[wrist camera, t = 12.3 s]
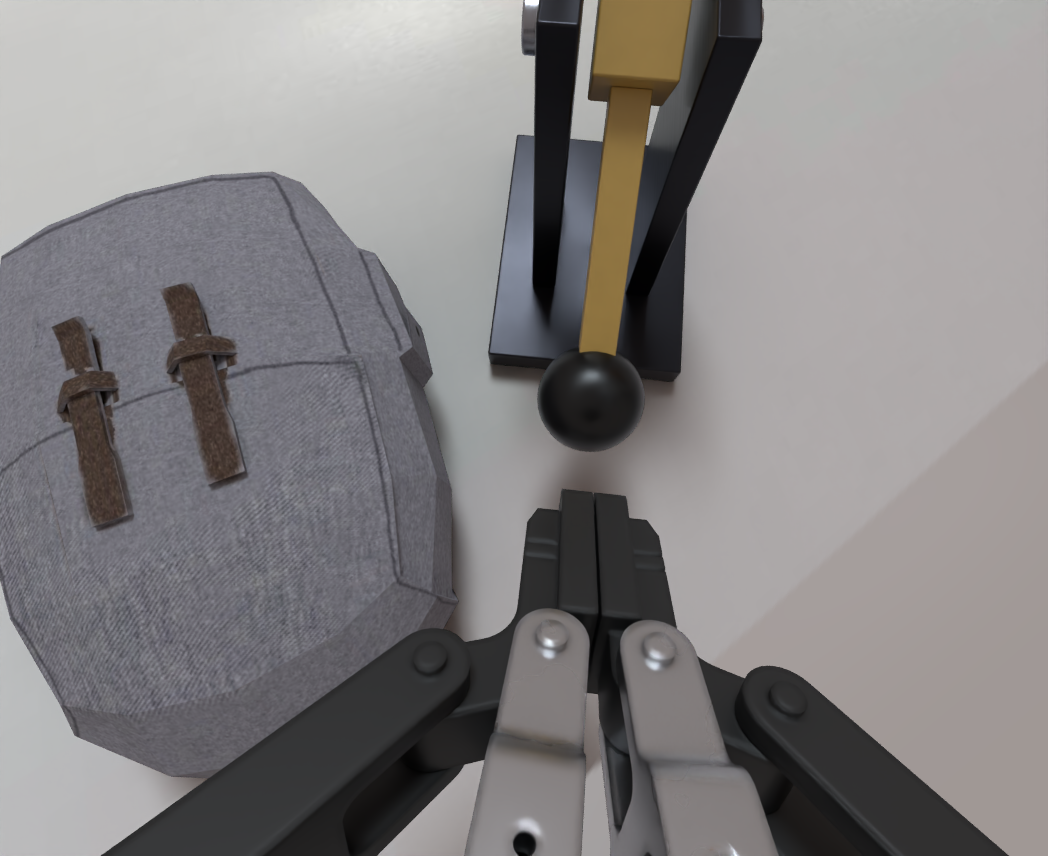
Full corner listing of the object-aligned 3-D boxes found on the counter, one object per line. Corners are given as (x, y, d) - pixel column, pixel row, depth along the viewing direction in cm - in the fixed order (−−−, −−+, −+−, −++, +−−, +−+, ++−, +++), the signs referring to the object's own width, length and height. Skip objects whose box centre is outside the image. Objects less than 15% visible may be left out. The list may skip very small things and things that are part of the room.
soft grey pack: (64, 330, 24) (149, 810, 19) (-169, 212, 16) (-119, 984, 11) (387, 225, 25) (540, 653, 21) (321, 66, 17) (548, 710, 13)
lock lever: (629, 436, 19) (642, 473, 16) (535, 426, 20) (529, 462, 16) (697, 1, 15) (734, -66, 12) (577, -9, 15) (581, -77, 12)
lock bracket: (673, 382, 23) (838, 174, 11) (489, 364, 24) (446, 141, 11) (682, 166, 26) (823, -197, 14) (517, 153, 26) (507, -216, 14)
